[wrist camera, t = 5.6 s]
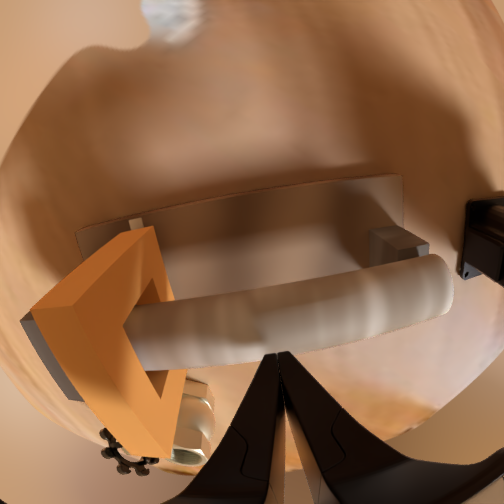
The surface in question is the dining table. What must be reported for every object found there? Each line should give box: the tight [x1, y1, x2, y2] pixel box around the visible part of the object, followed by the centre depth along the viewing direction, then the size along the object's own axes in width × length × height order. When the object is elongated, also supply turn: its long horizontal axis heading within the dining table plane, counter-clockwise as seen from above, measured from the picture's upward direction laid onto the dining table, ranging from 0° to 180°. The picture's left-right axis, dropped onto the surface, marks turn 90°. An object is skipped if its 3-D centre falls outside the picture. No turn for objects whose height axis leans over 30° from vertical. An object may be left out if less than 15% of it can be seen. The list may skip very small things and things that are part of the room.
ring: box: [30, 226, 187, 459], centre depth 11 cm, size 2×8×8 cm, turn 9°
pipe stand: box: [20, 174, 454, 402], centre depth 13 cm, size 20×9×8 cm, turn 99°
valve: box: [99, 379, 215, 476], centre depth 19 cm, size 7×7×12 cm
